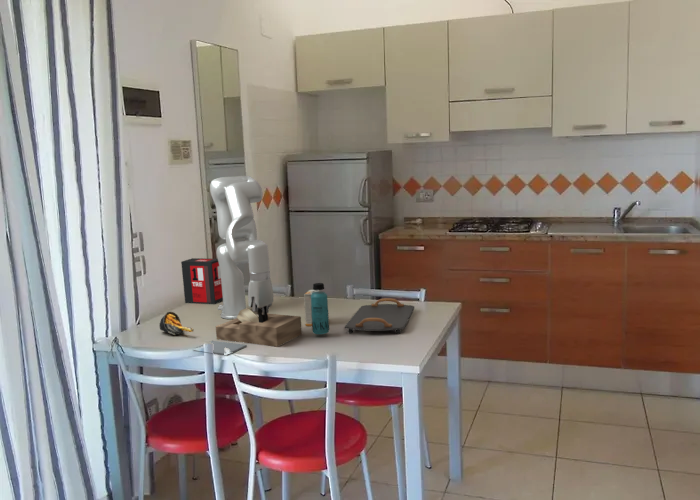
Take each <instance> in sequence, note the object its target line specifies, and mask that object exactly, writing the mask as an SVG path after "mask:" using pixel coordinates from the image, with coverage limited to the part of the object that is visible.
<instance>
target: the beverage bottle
mask: <svg viewBox="0 0 700 500" xmlns="http://www.w3.org/2000/svg"><path fill="white" fill-rule="evenodd" d="M312 290H320V291H318V292H314V293H312V295H311V312H312V315H311V317H312V326H311V331H312V333H313V334H315V335H324V334H325V335H326V334H328V333H329V332H330V319H329V317H330V316H329V306H328V305H329V304H328V303H329V302H328V294H327V293H326V292H325V291H322V290H325V285H324V283H322V282H315V283H313V284H312Z"/></svg>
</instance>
